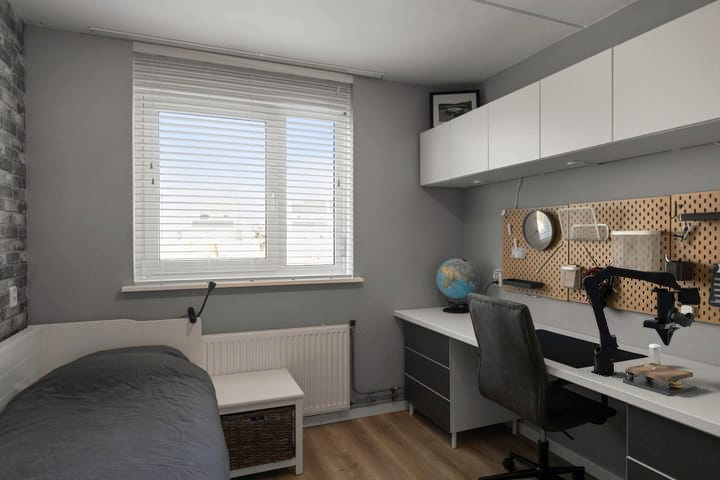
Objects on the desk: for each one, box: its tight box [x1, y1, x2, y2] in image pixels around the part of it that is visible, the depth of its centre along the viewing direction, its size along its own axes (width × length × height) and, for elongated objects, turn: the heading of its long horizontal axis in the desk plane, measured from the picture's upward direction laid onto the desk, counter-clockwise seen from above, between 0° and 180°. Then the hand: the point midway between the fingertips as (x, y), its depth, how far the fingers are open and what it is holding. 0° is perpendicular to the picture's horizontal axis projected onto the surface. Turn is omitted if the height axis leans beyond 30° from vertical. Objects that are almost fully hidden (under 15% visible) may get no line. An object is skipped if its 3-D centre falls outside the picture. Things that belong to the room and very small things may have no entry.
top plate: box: [624, 362, 694, 382], centre depth 158 cm, size 15×14×3 cm
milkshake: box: [648, 343, 664, 365], centre depth 183 cm, size 4×5×10 cm
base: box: [622, 372, 698, 397], centre depth 157 cm, size 16×16×4 cm
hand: (666, 345), depth 164 cm, fingers closed
